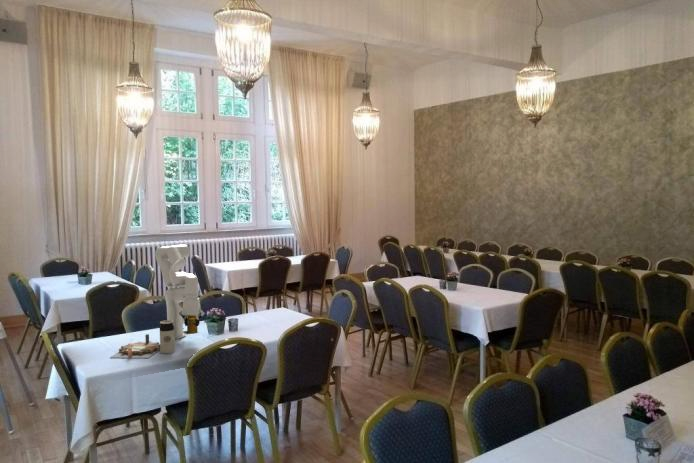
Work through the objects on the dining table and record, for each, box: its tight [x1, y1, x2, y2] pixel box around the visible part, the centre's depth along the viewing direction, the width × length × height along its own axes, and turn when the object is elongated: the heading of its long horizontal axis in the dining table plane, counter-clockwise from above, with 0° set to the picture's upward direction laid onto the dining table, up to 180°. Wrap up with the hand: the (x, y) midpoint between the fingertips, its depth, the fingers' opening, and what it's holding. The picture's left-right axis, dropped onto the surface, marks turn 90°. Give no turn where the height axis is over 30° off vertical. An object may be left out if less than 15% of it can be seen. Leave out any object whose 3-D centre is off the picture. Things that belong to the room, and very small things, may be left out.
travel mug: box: [159, 319, 176, 355], centre depth 317 cm, size 8×8×18 cm
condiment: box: [182, 316, 200, 336], centre depth 329 cm, size 7×8×12 cm
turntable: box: [118, 333, 160, 354], centre depth 320 cm, size 23×23×7 cm
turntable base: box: [109, 348, 160, 360], centre depth 318 cm, size 26×22×6 cm
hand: (191, 325), depth 329 cm, fingers closed on condiment, 6 cm apart
